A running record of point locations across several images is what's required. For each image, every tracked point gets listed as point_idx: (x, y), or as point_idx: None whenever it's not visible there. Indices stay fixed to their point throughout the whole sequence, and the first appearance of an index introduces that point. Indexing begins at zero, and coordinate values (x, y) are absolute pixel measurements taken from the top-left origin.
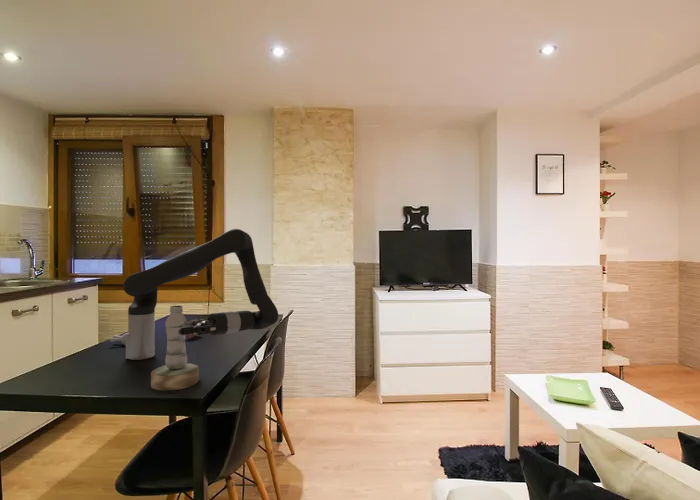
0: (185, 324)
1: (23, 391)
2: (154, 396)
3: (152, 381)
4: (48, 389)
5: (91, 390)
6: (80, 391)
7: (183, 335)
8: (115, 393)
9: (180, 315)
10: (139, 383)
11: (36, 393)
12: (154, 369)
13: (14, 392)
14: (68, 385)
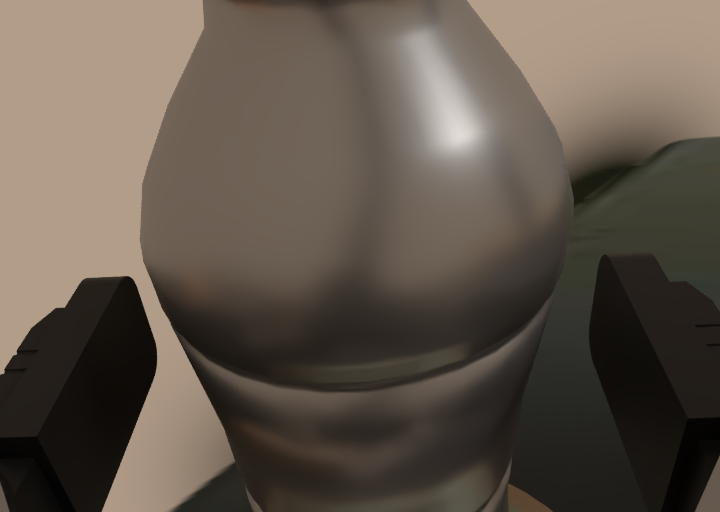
0: (174, 313)
1: (687, 162)
2: (215, 496)
3: None
4: (675, 202)
5: (563, 296)
6: (574, 268)
7: (229, 443)
8: None
9: (191, 65)
10: (560, 481)
11: (635, 183)
12: (545, 506)
13: (686, 149)
14: (707, 243)
